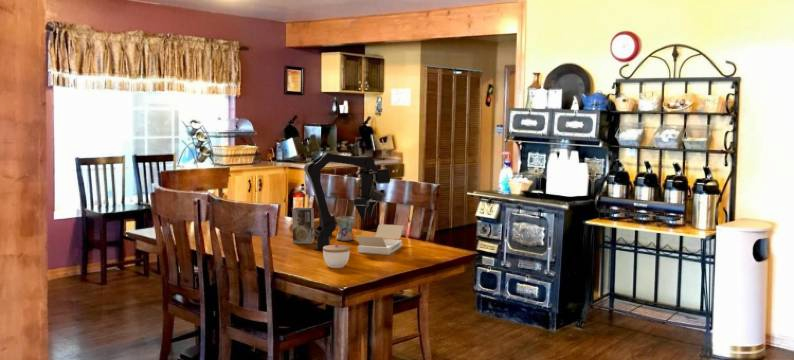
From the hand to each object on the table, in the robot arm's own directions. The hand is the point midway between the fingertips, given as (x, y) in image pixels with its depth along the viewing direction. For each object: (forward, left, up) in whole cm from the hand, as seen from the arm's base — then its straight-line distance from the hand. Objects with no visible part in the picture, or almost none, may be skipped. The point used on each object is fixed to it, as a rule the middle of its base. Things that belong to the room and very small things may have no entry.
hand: (366, 218), depth 324 cm
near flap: (-17, -8, -7) cm, 20 cm away
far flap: (+9, -8, -7) cm, 14 cm away
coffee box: (0, +31, -13) cm, 34 cm away
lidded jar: (-42, -2, -13) cm, 44 cm away
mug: (+14, +16, -13) cm, 25 cm away
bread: (+18, +36, -13) cm, 42 cm away
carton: (-4, -8, -13) cm, 16 cm away
